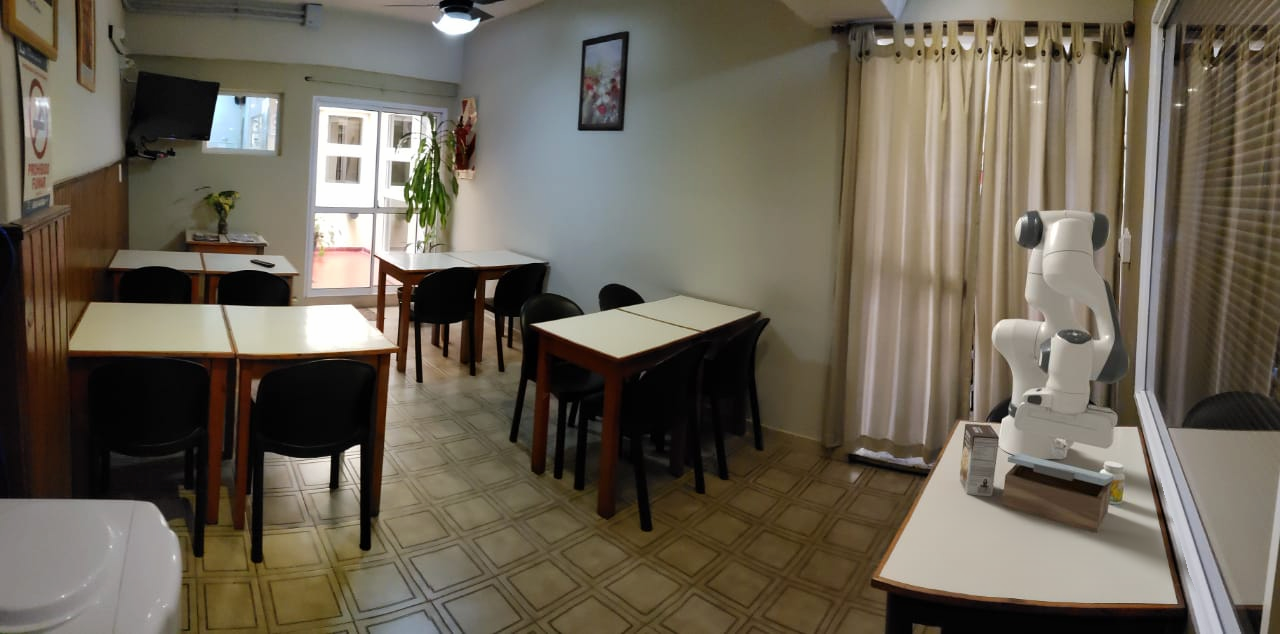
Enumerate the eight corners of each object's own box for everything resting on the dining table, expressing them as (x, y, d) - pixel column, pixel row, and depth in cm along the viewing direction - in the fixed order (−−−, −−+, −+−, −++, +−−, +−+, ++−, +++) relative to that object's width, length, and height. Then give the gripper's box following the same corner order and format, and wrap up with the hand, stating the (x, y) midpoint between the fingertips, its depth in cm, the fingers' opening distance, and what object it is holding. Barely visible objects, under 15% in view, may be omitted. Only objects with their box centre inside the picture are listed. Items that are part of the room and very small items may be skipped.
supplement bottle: (1126, 502, 177) (1131, 466, 175) (1112, 506, 175) (1118, 469, 173) (1104, 493, 182) (1109, 458, 180) (1091, 497, 180) (1096, 461, 178)
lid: (1020, 461, 183) (1021, 454, 183) (1111, 483, 170) (1113, 476, 170) (1005, 464, 172) (1007, 457, 172) (1102, 488, 159) (1103, 480, 159)
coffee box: (958, 479, 189) (964, 422, 186) (983, 482, 188) (990, 424, 185) (966, 494, 180) (972, 434, 177) (993, 497, 179) (1000, 437, 176)
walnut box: (1017, 487, 185) (1021, 458, 183) (1107, 511, 172) (1112, 481, 170) (1001, 505, 174) (1005, 474, 173) (1096, 532, 161) (1101, 500, 160)
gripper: (1121, 406, 161) (1112, 463, 164) (1022, 388, 174) (1016, 440, 177) (1116, 413, 156) (1107, 471, 159) (1015, 394, 170) (1009, 448, 173)
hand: (1058, 455), depth 168 cm, fingers closed
